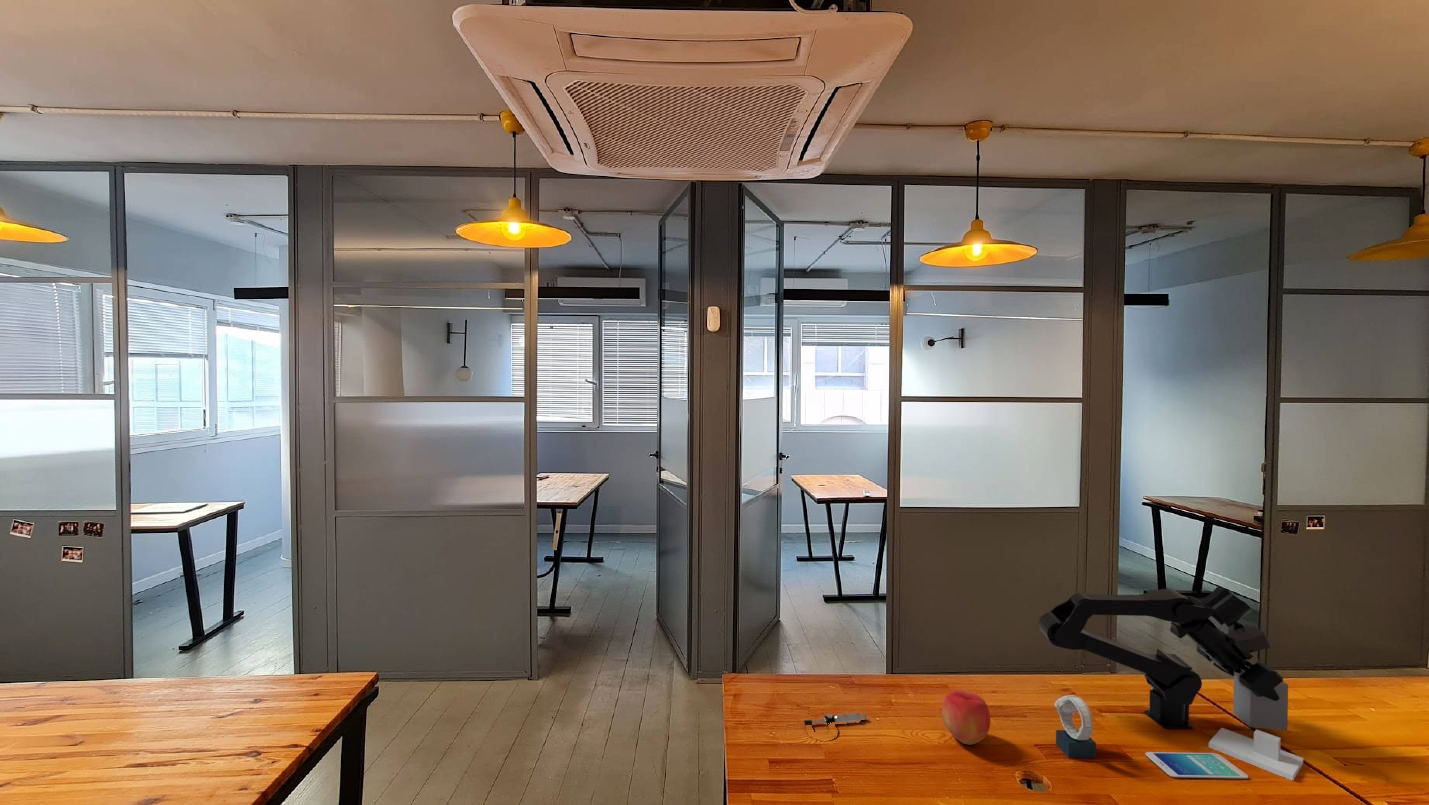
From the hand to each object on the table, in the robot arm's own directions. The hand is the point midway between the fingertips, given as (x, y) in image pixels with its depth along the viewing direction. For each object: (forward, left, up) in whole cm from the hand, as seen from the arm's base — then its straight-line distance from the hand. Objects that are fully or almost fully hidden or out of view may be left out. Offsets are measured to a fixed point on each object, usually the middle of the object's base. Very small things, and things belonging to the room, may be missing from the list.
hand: (1267, 692), depth 123 cm
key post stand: (-10, -8, -9) cm, 15 cm away
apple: (-67, -2, -9) cm, 68 cm away
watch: (-46, -6, -9) cm, 48 cm away
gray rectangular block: (-1, 0, -7) cm, 7 cm away
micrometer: (-94, +3, -9) cm, 94 cm away
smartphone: (-26, -11, -9) cm, 29 cm away
